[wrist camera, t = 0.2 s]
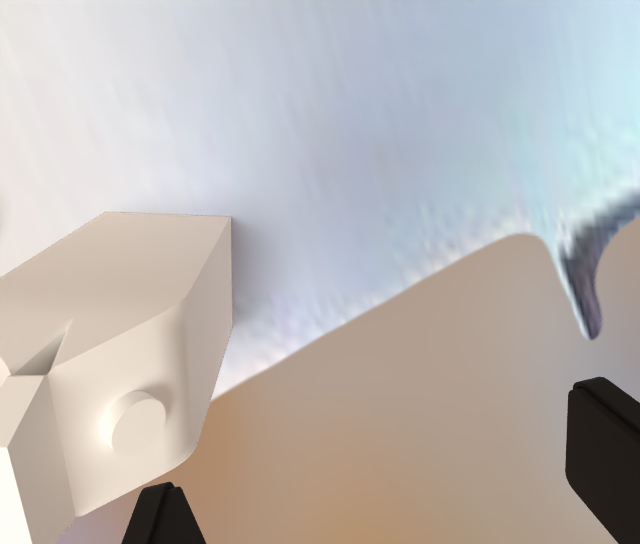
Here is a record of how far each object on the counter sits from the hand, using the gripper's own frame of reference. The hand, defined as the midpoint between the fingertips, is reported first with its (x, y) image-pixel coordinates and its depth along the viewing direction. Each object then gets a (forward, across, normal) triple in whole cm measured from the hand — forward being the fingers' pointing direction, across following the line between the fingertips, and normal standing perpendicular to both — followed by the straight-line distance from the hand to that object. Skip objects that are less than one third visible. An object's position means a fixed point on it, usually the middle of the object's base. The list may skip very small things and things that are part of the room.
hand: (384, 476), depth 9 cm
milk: (+31, +14, +3) cm, 34 cm away
